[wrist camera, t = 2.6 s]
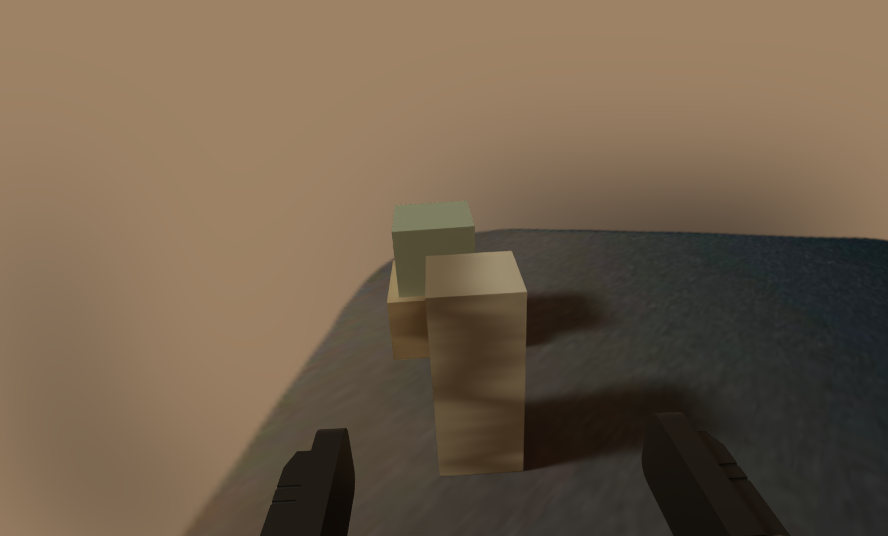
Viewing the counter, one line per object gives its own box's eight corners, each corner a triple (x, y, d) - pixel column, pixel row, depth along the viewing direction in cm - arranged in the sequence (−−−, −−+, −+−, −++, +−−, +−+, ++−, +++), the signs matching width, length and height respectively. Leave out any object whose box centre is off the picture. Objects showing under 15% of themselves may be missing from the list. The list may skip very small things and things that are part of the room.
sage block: (468, 259, 40) (466, 200, 37) (476, 292, 35) (474, 226, 32) (401, 264, 39) (395, 205, 37) (398, 297, 34) (391, 231, 32)
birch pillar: (510, 412, 30) (511, 251, 26) (523, 471, 26) (527, 291, 21) (438, 417, 30) (425, 256, 26) (439, 476, 26) (425, 298, 21)
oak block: (479, 307, 42) (477, 255, 40) (488, 355, 36) (487, 296, 34) (398, 312, 42) (393, 260, 40) (394, 361, 36) (387, 302, 34)
